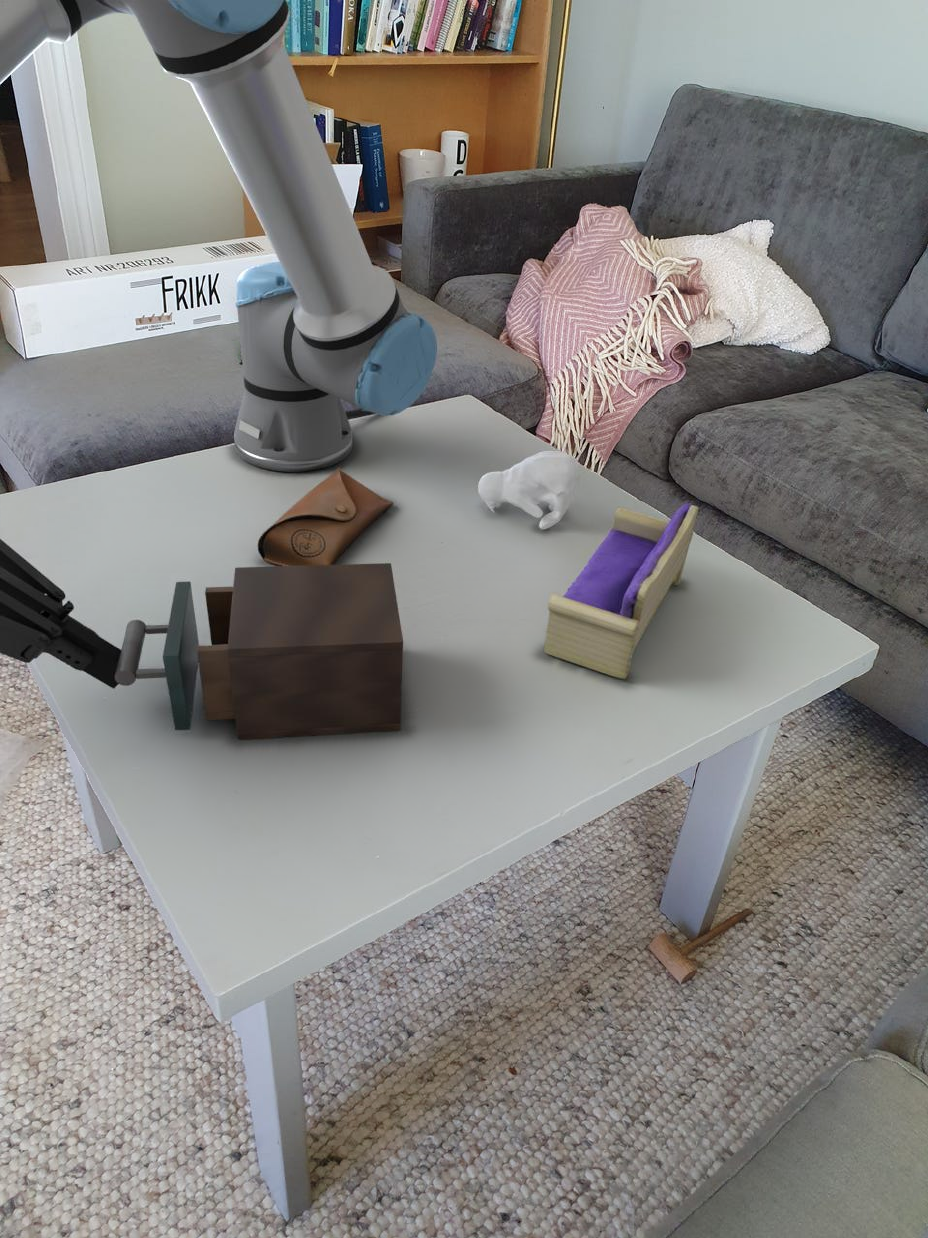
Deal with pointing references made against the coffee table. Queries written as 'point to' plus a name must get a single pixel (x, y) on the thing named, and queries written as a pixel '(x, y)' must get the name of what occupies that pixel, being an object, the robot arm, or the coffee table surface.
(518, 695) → the coffee table surface
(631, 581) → the toy sofa
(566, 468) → the white figurine
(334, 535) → the sunglasses case
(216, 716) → the drawer
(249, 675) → the cabinet
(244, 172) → the robot arm
